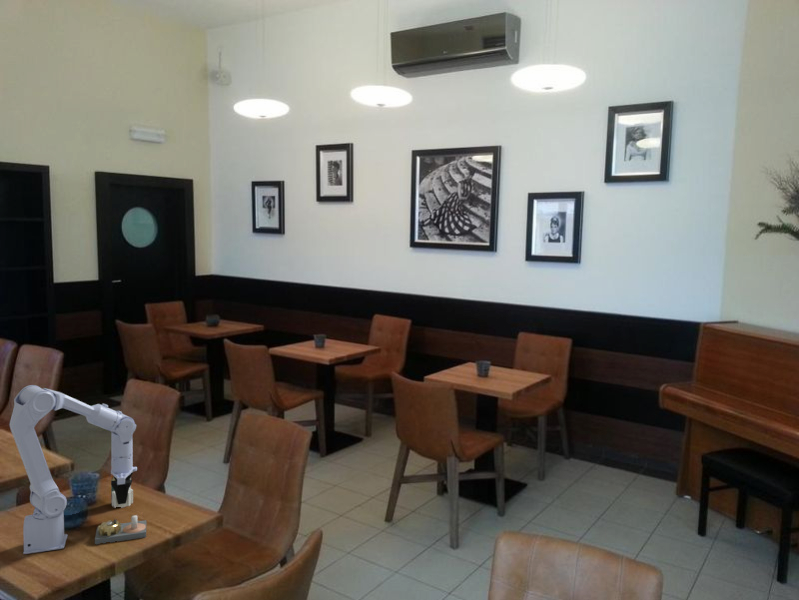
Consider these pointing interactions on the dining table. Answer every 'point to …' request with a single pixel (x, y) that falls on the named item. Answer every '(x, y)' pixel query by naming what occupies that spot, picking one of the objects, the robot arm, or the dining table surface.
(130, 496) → the loose gear
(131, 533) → the board
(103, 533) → the gear
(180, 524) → the dining table surface
